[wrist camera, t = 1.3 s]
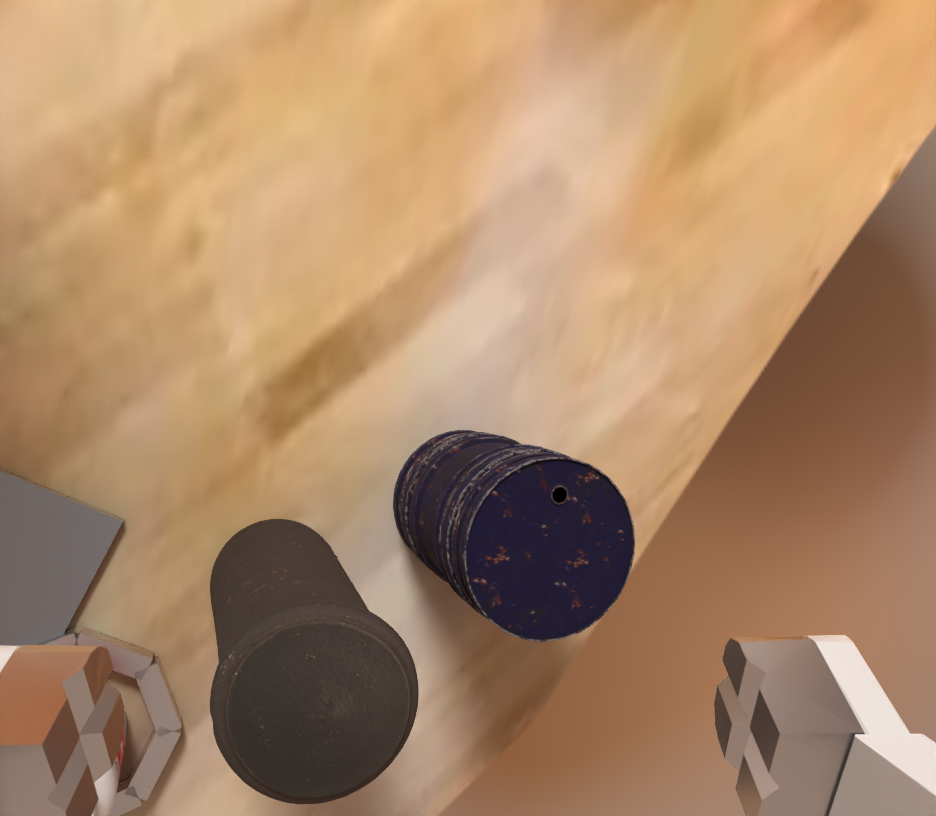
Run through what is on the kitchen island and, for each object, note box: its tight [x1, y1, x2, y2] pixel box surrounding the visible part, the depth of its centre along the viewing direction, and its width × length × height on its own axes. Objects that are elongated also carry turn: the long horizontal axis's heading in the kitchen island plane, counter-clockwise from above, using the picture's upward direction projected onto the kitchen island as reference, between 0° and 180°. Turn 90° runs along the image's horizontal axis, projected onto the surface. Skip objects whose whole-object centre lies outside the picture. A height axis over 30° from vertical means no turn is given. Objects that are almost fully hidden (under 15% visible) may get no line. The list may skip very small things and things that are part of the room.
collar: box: [36, 627, 182, 816], centre depth 48 cm, size 12×12×1 cm
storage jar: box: [393, 430, 635, 642], centre depth 49 cm, size 10×10×15 cm
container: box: [210, 519, 418, 804], centre depth 43 cm, size 9×9×20 cm
